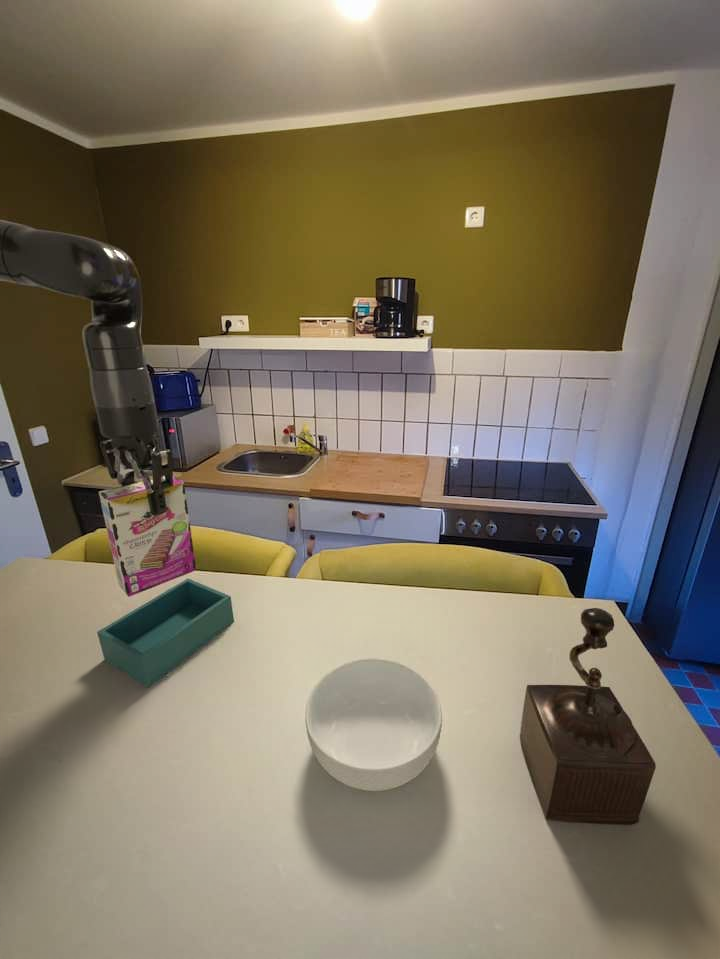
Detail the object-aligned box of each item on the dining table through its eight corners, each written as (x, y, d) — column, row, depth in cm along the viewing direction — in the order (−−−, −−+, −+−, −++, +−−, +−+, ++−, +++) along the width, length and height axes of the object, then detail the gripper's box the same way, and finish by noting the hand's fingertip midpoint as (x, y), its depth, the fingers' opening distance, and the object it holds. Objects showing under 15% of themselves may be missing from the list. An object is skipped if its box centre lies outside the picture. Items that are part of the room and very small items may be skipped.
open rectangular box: (104, 659, 71) (96, 631, 69) (192, 602, 85) (187, 578, 83) (148, 687, 65) (141, 658, 63) (234, 621, 79) (230, 596, 77)
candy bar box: (128, 599, 65) (106, 500, 60) (118, 586, 69) (95, 491, 63) (199, 571, 73) (184, 480, 67) (186, 560, 76) (171, 473, 70)
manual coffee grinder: (647, 826, 47) (690, 702, 40) (544, 822, 47) (571, 698, 41) (584, 706, 61) (609, 601, 55) (506, 703, 62) (521, 599, 55)
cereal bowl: (417, 686, 65) (419, 649, 62) (459, 799, 49) (464, 756, 47) (304, 703, 62) (301, 664, 60) (312, 828, 47) (309, 784, 44)
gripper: (69, 400, 61) (95, 508, 67) (131, 410, 54) (154, 529, 60) (120, 393, 67) (140, 493, 73) (181, 400, 60) (197, 510, 66)
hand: (146, 509), depth 66 cm, fingers closed on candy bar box, 5 cm apart
